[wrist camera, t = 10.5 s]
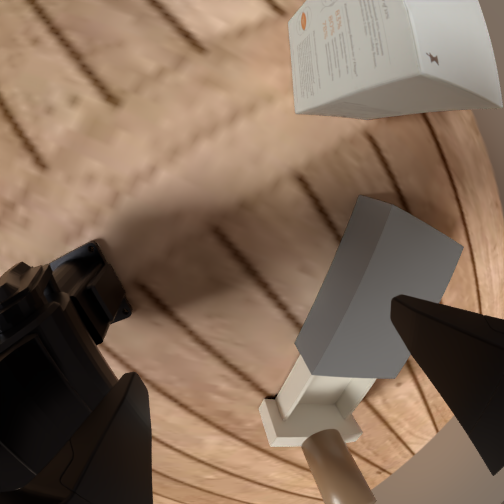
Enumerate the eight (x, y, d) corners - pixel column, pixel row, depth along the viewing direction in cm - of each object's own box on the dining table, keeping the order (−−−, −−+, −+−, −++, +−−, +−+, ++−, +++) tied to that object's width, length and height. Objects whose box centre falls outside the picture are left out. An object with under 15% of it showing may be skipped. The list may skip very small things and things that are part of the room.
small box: (367, 121, 20) (506, 113, 8) (293, 115, 19) (418, 75, 7) (358, 33, 17) (472, -22, 5) (286, 20, 16) (375, -77, 4)
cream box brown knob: (320, 287, 23) (428, 407, 10) (401, 308, 26) (496, 390, 13) (254, 415, 27) (290, 530, 14) (333, 417, 30) (382, 506, 17)
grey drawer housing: (359, 194, 22) (392, 204, 18) (432, 233, 25) (463, 246, 20) (294, 343, 25) (311, 375, 21) (373, 353, 28) (394, 378, 24)
